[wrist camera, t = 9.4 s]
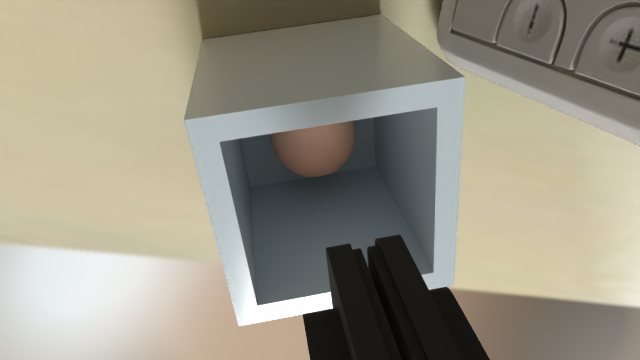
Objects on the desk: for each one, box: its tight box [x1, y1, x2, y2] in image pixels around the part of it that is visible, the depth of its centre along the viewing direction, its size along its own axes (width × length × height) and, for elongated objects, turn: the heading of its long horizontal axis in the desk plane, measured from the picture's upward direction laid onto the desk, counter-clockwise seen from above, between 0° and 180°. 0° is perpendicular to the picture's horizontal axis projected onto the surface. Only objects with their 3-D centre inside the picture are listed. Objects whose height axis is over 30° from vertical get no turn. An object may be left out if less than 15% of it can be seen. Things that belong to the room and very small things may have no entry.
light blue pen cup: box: [184, 14, 465, 326], centre depth 17 cm, size 7×7×8 cm
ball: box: [271, 121, 355, 177], centre depth 18 cm, size 3×3×3 cm
